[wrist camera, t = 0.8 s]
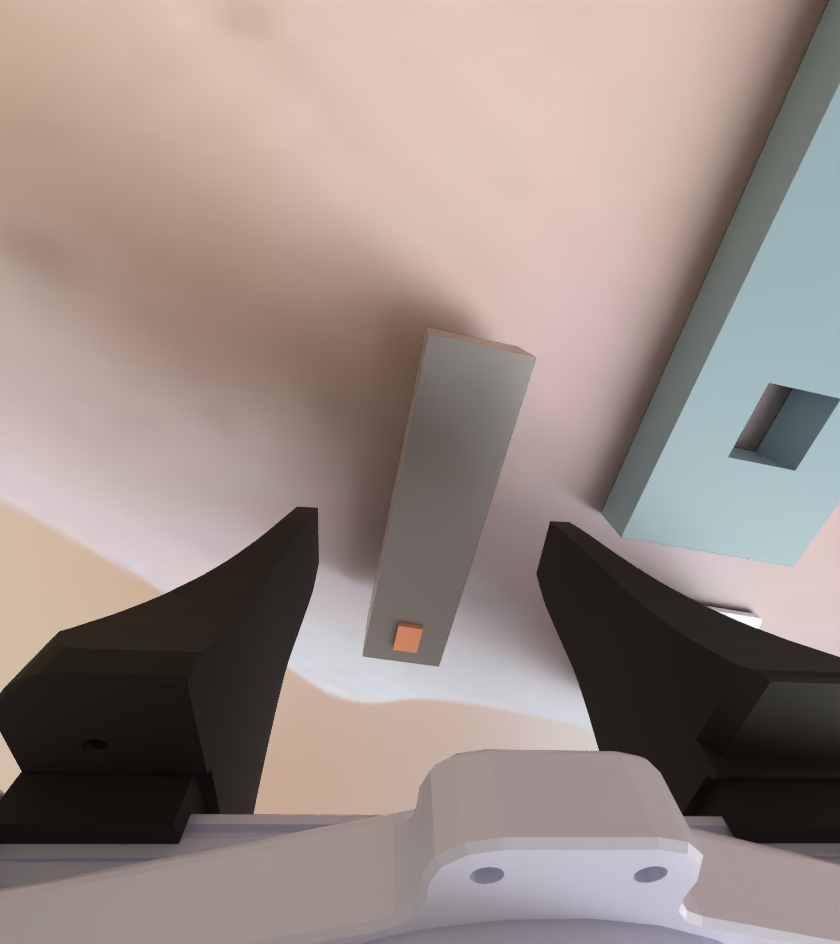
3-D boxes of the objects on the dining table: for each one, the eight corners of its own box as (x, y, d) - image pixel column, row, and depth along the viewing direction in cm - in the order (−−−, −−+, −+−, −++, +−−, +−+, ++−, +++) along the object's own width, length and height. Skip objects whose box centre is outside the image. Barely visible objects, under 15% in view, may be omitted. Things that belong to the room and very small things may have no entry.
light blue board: (758, 541, 25) (793, 567, 22) (600, 512, 24) (621, 537, 21) (1109, -6, 15) (1235, -58, 13) (870, -92, 14) (959, -166, 12)
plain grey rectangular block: (434, 599, 26) (439, 670, 21) (371, 590, 26) (361, 660, 21) (507, 340, 20) (538, 358, 15) (424, 322, 19) (429, 335, 14)
